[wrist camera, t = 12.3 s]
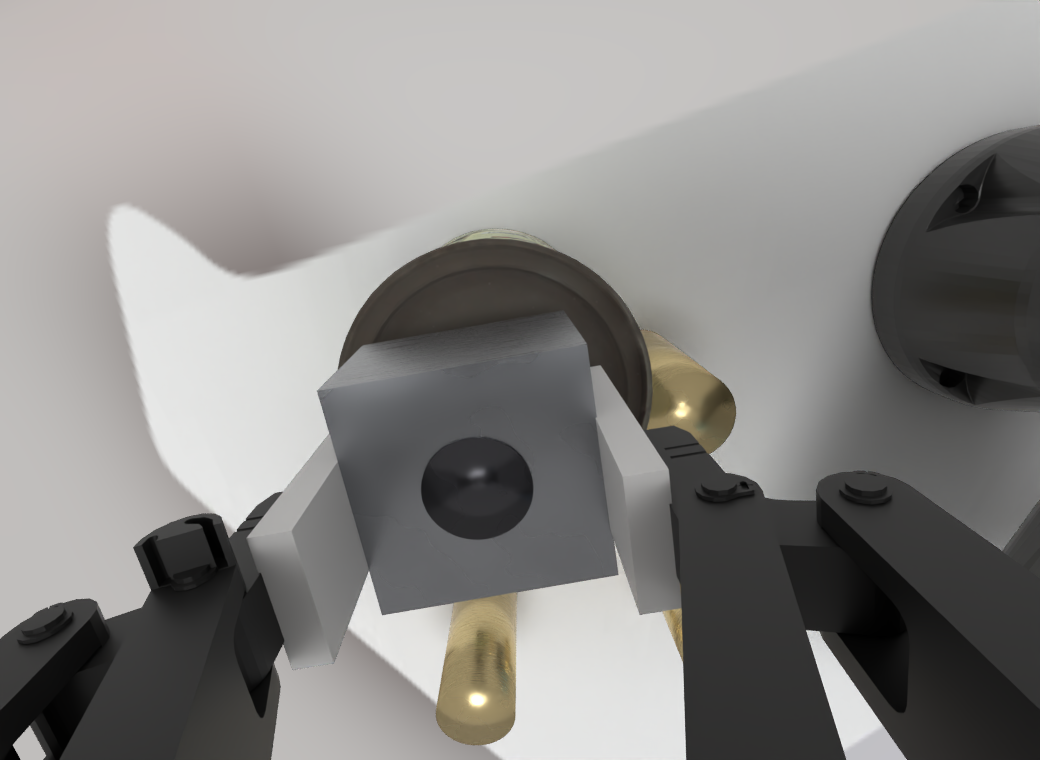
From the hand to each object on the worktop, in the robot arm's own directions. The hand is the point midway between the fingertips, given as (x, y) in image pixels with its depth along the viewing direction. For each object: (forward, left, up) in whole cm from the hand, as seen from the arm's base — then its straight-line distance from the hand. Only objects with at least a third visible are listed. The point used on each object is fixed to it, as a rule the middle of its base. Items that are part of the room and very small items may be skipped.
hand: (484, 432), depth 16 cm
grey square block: (0, 0, 0) cm, 0 cm away
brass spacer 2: (-8, +4, -17) cm, 19 cm away
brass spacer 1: (+3, +18, -17) cm, 24 cm away
